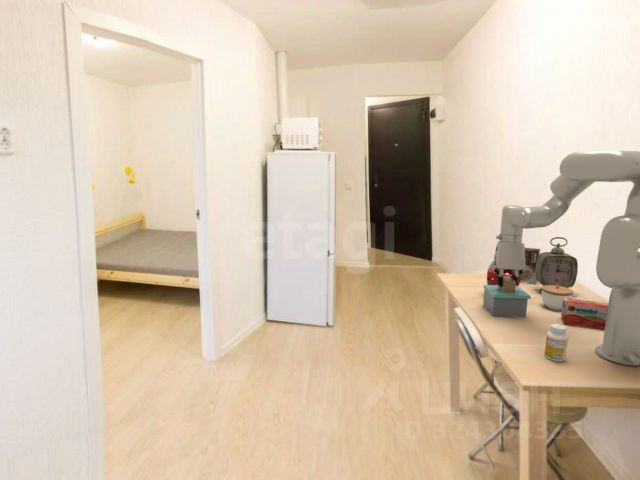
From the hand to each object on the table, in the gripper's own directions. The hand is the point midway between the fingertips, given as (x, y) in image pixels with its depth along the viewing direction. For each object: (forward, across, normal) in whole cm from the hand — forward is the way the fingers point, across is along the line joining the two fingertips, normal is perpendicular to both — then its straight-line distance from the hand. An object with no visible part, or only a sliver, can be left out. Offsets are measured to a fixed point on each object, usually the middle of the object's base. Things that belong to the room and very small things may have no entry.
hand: (506, 285), depth 161 cm
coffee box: (+10, +25, +45) cm, 53 cm away
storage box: (+10, 0, 0) cm, 10 cm away
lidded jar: (+11, +22, +7) cm, 25 cm away
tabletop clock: (+10, +30, +28) cm, 42 cm away
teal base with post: (+4, 0, 0) cm, 4 cm away
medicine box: (+11, +25, -9) cm, 29 cm away
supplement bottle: (+11, +2, -39) cm, 40 cm away
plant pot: (+10, +5, +18) cm, 22 cm away
